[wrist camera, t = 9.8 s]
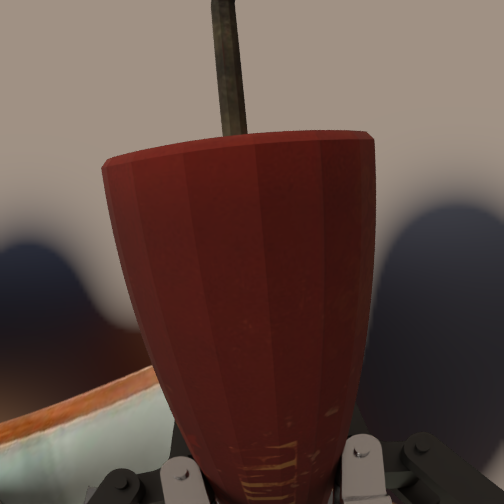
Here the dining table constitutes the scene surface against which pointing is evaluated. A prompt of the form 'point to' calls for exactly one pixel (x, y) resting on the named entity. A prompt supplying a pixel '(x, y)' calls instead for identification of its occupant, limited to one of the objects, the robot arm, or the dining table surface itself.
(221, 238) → the firecracker
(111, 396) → the dining table surface
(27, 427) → the dining table surface
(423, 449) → the robot arm
